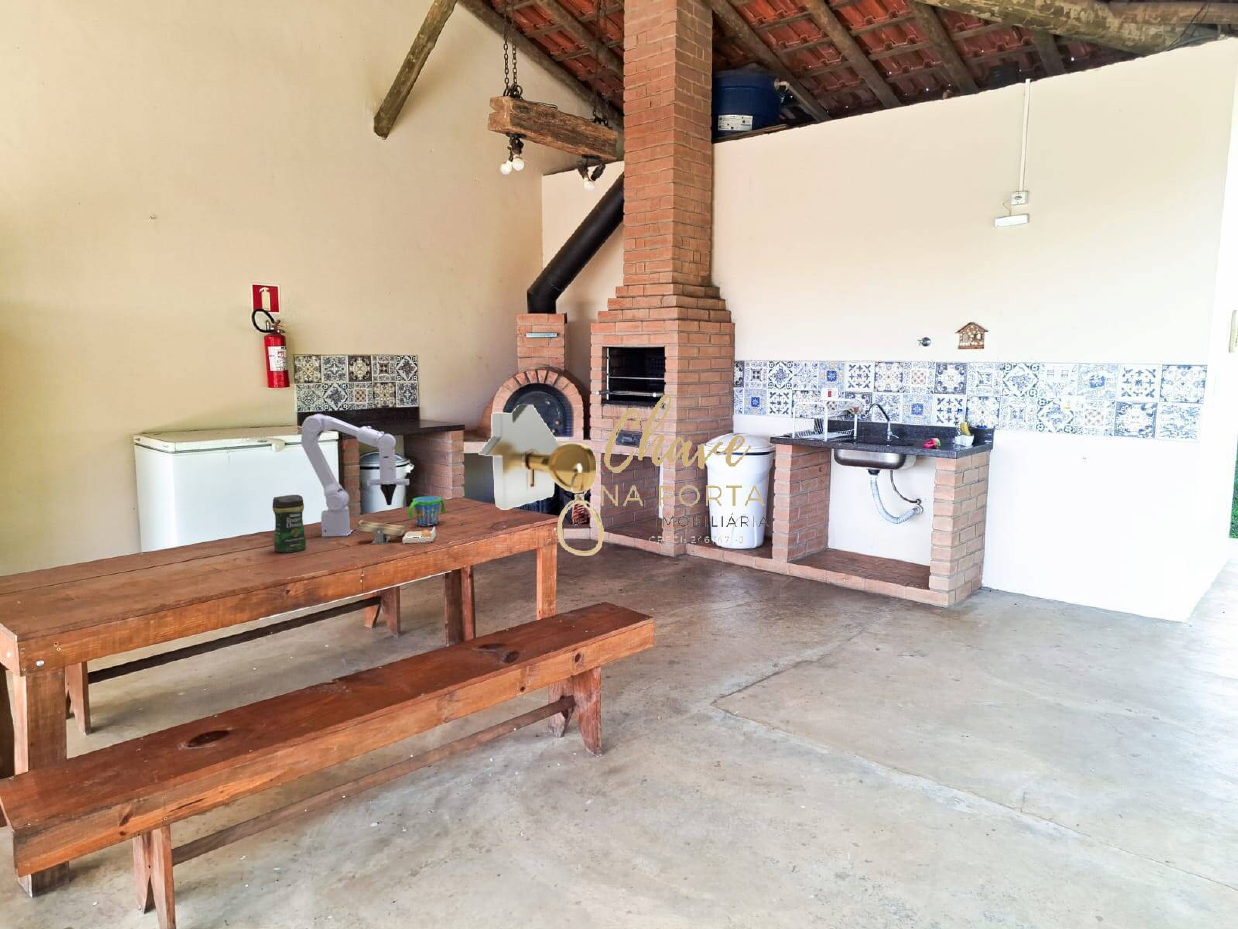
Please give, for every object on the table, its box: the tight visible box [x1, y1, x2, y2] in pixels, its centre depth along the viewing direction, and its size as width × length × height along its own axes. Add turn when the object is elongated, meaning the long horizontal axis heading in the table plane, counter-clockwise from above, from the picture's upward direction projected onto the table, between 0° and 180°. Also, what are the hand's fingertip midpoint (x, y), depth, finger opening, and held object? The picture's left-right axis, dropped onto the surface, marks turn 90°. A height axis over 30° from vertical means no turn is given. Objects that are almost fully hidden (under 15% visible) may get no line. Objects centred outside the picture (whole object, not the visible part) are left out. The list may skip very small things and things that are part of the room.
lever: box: [356, 519, 408, 537], centre depth 284 cm, size 15×13×2 cm
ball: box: [422, 529, 430, 537], centre depth 282 cm, size 3×3×3 cm
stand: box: [371, 529, 392, 545], centre depth 281 cm, size 5×9×5 cm, turn 7°
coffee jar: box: [271, 494, 307, 553], centre depth 268 cm, size 10×8×19 cm
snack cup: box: [408, 496, 446, 525], centre depth 306 cm, size 16×10×10 cm
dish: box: [402, 526, 436, 545], centre depth 282 cm, size 10×10×4 cm
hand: (389, 504), depth 292 cm, fingers closed
